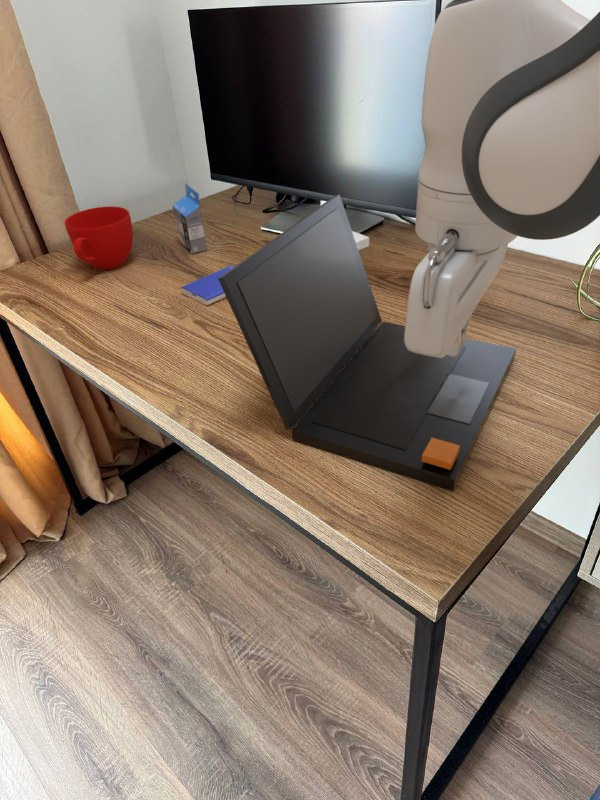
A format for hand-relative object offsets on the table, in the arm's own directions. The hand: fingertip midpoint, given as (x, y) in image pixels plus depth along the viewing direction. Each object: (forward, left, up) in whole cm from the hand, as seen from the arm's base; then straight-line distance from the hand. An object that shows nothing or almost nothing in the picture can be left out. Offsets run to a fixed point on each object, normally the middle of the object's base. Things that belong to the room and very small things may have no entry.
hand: (452, 348), depth 59 cm
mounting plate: (+43, -56, -17) cm, 72 cm away
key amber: (0, 0, -15) cm, 15 cm away
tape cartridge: (+71, -46, -17) cm, 86 cm away
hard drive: (+53, -31, -17) cm, 64 cm away
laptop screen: (+22, -13, -5) cm, 26 cm away
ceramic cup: (+82, -30, -17) cm, 89 cm away
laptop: (+8, -13, -17) cm, 23 cm away
